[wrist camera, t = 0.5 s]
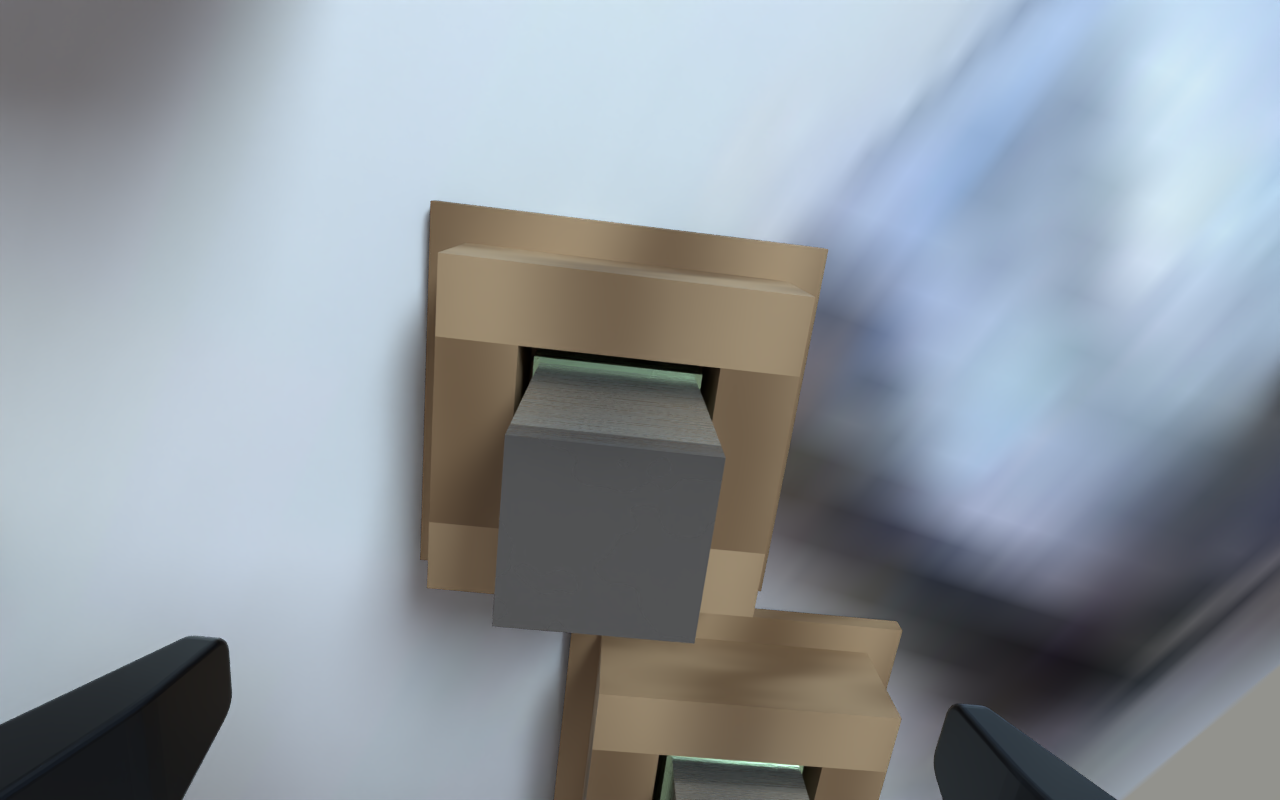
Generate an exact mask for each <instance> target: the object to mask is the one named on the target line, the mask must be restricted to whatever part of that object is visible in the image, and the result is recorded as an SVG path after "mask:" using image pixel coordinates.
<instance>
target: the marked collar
mask: <svg viewBox="0 0 1280 800" xmlns="http://www.w3.org/2000/svg"><path fill="white" fill-rule="evenodd" d="M827 253H828V249H824V248H818V247H810V246H802V245H793V244H785V243H777V242H769V241H761V240H753V239H745V238H736V237H728V236H720V235H712V234H704V233H696V232H688V231H679V230H671V229H663V228H655V227H647V226H639V225H630V224H622V223H614V222H606V221H598V220H590V219H582V218H573V217H565V216H557V215H549V214H541V213H533V212H525V211H516V210H508V209H500V208H492V207H484V206H476V205H468V204H459V203H451V202H443V201H431V204H430V238H429V273H428V308H427V343H426V378H425V413H424V448H423V483H422V518H421V553H420V560H428V573H427V588H432V589H443V590H454V591H465V592H476V593H487V594H494V592H495V577H496V562H497V547H498V531H499V516H500V501H501V486H502V470H503V455H504V440H505V433H506V431H507V429H508V427H509V425H510V423H511V421H512V419H513V417H514V415H515V413H516V411H517V409H518V406H519V404H520V402H521V400H522V398H523V396H524V394H525V392H526V390H527V388H528V386H529V384H530V382H531V379H532V377H533V364H534V356H535V354H536V352H537V350H538V348H545V349H554V350H563V351H572V352H580V353H589V354H598V355H607V356H616V357H625V358H634V359H643V360H652V361H661V362H670V363H679V364H688V365H697V366H699V368H700V370H701V373H702V381H701V388H700V392H701V395H702V397H703V400H704V402H705V405H706V408H707V410H708V413H709V415H710V418H711V421H712V423H713V426H714V428H715V431H716V434H717V436H718V439H719V441H720V444H721V447H722V449H723V452H724V454H725V457H726V459H725V465H724V471H723V477H722V483H721V489H720V495H719V501H718V507H717V513H716V519H715V525H714V530H713V536H712V542H711V548H710V554H709V560H708V566H707V572H706V578H705V584H704V590H703V596H702V602H701V608H700V613H710V614H721V615H732V616H744V617H753V614H754V608H755V603H756V598H757V593H758V591H761V588H762V583H763V578H764V573H765V568H766V563H767V558H768V553H769V548H770V542H771V537H772V532H773V527H774V522H775V517H776V512H777V507H778V502H779V497H780V492H781V487H782V482H783V477H784V471H785V466H786V461H787V456H788V451H789V446H790V441H791V436H792V431H793V426H794V421H795V416H796V411H797V406H798V400H799V395H800V390H801V385H802V380H803V375H804V370H805V365H806V360H807V355H808V350H809V345H810V340H811V335H812V329H813V324H814V319H815V314H816V309H817V304H818V299H819V294H820V289H821V284H822V279H823V274H824V269H825V263H826V258H827Z"/></svg>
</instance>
